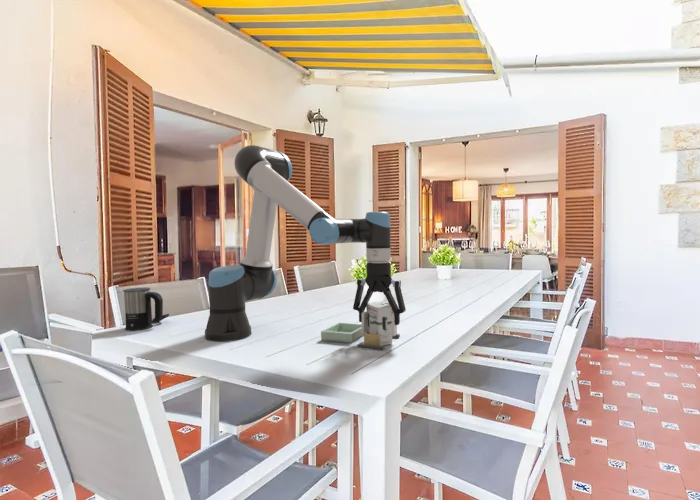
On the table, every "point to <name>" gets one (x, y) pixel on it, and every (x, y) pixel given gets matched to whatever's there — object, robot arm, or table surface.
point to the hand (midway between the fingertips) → (379, 333)
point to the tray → (342, 333)
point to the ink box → (380, 321)
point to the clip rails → (372, 339)
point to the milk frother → (142, 308)
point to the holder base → (375, 347)
